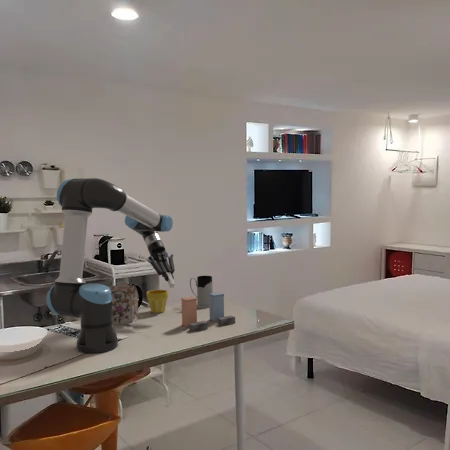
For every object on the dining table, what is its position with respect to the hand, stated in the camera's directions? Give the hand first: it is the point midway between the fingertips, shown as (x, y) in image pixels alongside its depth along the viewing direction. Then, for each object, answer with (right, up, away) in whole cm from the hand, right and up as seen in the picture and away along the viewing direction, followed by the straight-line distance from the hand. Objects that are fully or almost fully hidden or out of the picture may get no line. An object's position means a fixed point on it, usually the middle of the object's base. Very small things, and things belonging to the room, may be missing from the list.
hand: (172, 285), depth 214 cm
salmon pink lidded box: (+8, -15, -11) cm, 21 cm away
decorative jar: (-23, -17, +1) cm, 28 cm away
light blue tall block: (+20, -15, -3) cm, 25 cm away
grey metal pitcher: (+11, -14, +29) cm, 34 cm away
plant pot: (-9, -15, +18) cm, 25 cm away
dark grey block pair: (+16, -17, -9) cm, 24 cm away
